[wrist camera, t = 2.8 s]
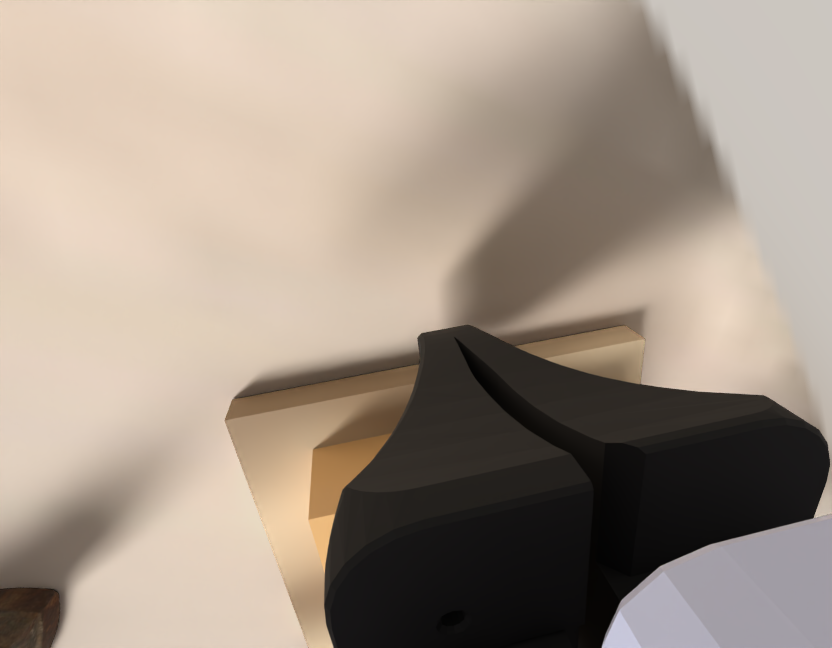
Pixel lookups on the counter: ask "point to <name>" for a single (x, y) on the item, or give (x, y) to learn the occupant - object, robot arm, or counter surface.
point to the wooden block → (335, 482)
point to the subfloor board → (354, 420)
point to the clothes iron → (28, 617)
